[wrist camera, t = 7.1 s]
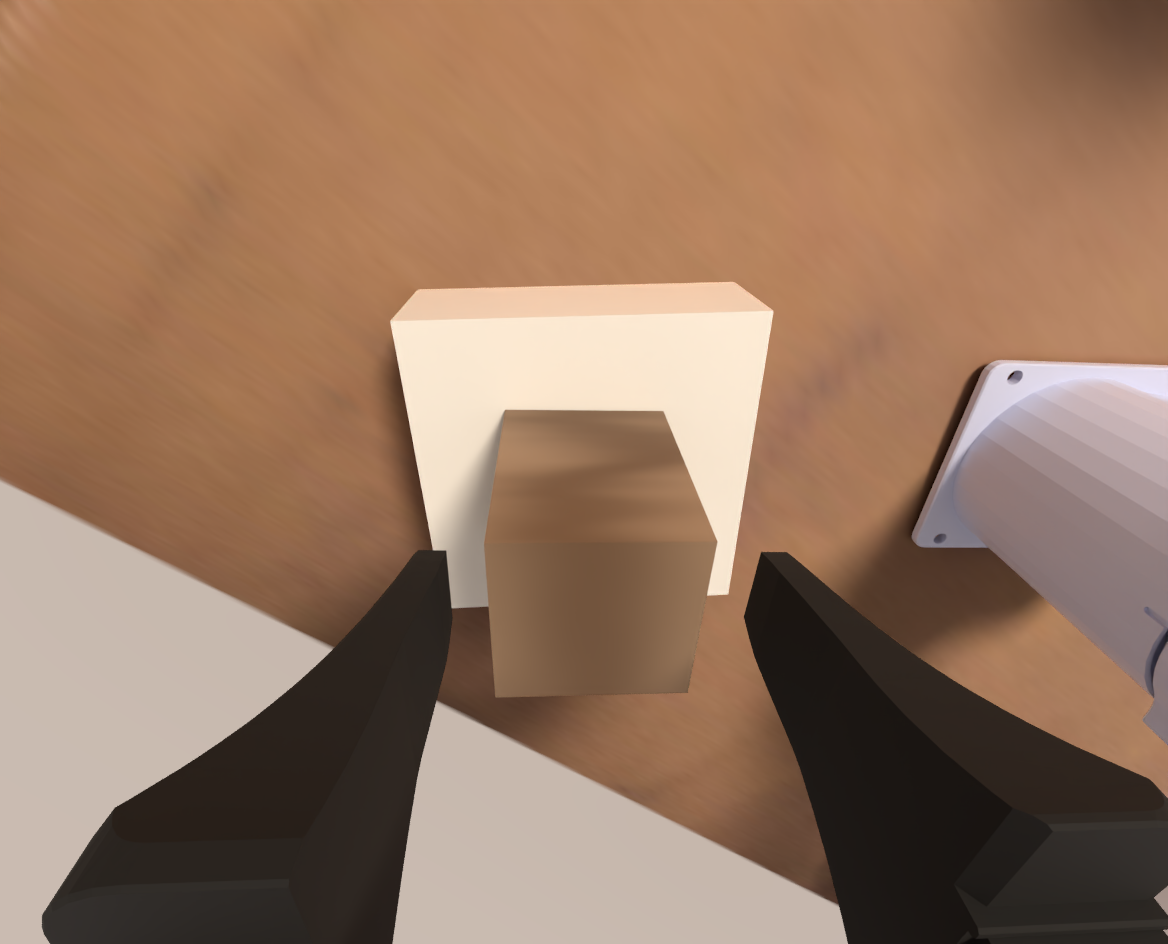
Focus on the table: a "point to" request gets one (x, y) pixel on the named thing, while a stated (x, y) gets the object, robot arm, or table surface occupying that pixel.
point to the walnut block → (594, 556)
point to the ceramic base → (577, 391)
